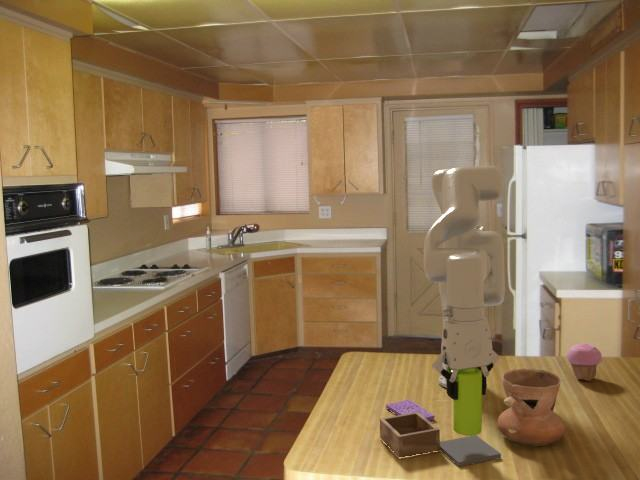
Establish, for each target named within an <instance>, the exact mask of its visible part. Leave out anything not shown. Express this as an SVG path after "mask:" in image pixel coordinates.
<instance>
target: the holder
mask: <svg viewBox="0 0 640 480" xmlns="http://www.w3.org/2000/svg"><path fill="white" fill-rule="evenodd" d="M440 436H441V433H440V428H438V427H437V426H436V425H435V424H434V423H432V421H429V420H427V419H426V418H425V417H424V416H422V415H421V414H420V413H419V412H415V413H409V414H403V415H397V416H396V415H393V416H387V417H386V416H385V417H381V418H379V438H381V439H382V440H383V441H384V442H385V443H386V444H387V446H389V447H390V449H391V450H392V451H394V453H395V454H396V455H397V456H398V457H405V456H412V455H416V454H423V453H428V452H433V451H439V450H440V442H441V437H440ZM387 446H386V447H387ZM390 449H389V450H390ZM391 450H390V451H391ZM392 451H391V452H392ZM394 453H393V454H394ZM395 454H394V455H395ZM396 455H395V456H396ZM397 456H396V457H397ZM398 457H397V458H398Z"/></svg>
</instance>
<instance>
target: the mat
mask: <svg viewBox="0 0 640 480" xmlns="http://www.w3.org/2000/svg"><path fill="white" fill-rule="evenodd" d="M440 450H441V451H442V452H443V453H444V454H443V453H442V452H441V451H440V452H441V453H442V454H443V455H445V454H446V455H447V456H448V457H449V458H450V459H451V460H452V461H451V460H450V459H449V458H448V457H447V456H446V455H445V456H446V457H447V458H448V459H449V460H450V461H451V462H453V461H454V462H455V463H456V464H457V465H458V466H460V467H463V466H462V465H465V466H468V465H467V464H470V465H473V464H472V463H475V464H478V463H477V462H480V463H482V462H481V461H485V462H488V460H489V461H493V460H498V459H501V458H502V453H501V452H500V451H498V450H496V449H495V448H494V447H493V446H491V445H490V444H489V443H487V442H486V441H485V440H483V439H482V438H481V437H479V436H478V435H473V436H463V437H458V438H453V439H448V440H442V441H440ZM454 462H453V463H454ZM455 463H454V464H455ZM456 464H455V465H456ZM457 465H456V466H457ZM458 466H457V467H458Z"/></svg>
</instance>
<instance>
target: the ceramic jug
mask: <svg viewBox="0 0 640 480" xmlns="http://www.w3.org/2000/svg"><path fill="white" fill-rule="evenodd" d="M501 380H502V385H503V389H504V393H505V396H506V398H505V399H504V401H503V404H505V406H509V408H506V410H504V411H502V412H501V413H500V415H499V416H498V418H497V428H498V429H499V432H500V433H501V434H502V436H503V437H505V438H506V439H507V440H510V441H512V442H514V443H516V444H520V445H525V446H530V447H531V446H532V447H534V446H536V447H537V446H539V447H541V446H547V445H552V444H554V443H556V442H558V441H560V440H561V439H562V438H563V437H564V435H565V433H566V430H567V427H566V424H565V421H564V419H562V417H561V416H560V415H558V414H557V413H556V412H555V411H554V410H555V406H556V401H557V396H558V394H559V392H560V388H561V378H560V376H558V375H557V374H555V373H553V372H551V371H548V370H544V369H536V368H519V369H511V370H508V371H506V372H504V373H503V374H502V376H501Z"/></svg>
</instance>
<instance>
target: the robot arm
mask: <svg viewBox="0 0 640 480" xmlns="http://www.w3.org/2000/svg"><path fill="white" fill-rule="evenodd" d="M504 185H505V184H504V178H503V173H502V172H501V170H500V169H499V167H497V166H496V165H481V166H480V165H479V166H477V165H476V166H474V165H473V166H458V167H457V166H456V167H453V168H443V169H439V170H437V171H435V172H434V173H433V174H432V177H431V187H432V192H433V195H434V199H435V200H436V202H437V203H436V204H437V205H438V207H439V210H440V212H441V216H440V217H439V218H438V219H437V220H436V221H435V222H434V223H433V224H432V225H431V226H430V228H429V230H428V231H427V232H426V235H425V238H424V240H423V241H424V242H423V272H424V275H425V277H426V279H427V280H429V281H430V282H432V283H435V284H436V283H438V291H439V297H440V303H441V315H442V333H441V334H442V335H441V345H440V346H441V347H440V351H441V352H440V353H439V355H438V356H437V358H436V359H435V360H434V362H433V363H432V364H431V366H432V368H433V369H435V371H436V372H438V373H439V374H440V375H439V376H438V384H439V385H440V386H442V387H444V388H446V394H447V396H448V397H449V398H451V399H452V400H453V401H454V400H457V399H458V383H457V382H456V381H455V379H456V376H457V373H458V370H463V369H470V368H478V369H480V370H481V371H482V396H486V394H487V391H486V390H487V377H489V375H490V372H491V370H492V369H493V367H494V365H495V364H496V363H497V362H498V361H499V360H500V355H499V354H498V353H497V352H496V351H494V350H493V343H492V339H493V338H492V335H491V334H492V333H491V327H490V323H489V319H488V318H487V317H485V312H484V311H485V310H484V308H485V307H491V306H492V307H495V306H499V305H501V304H502V303H503V302H504V299H505V296H506V295H505V294H506V293H505V292H506V283H505V282H506V281H505V280H506V278H505V274H506V273H505V272H506V271H505V250H504V249H505V247H504V242H503V238H502V236H501V234H500V233H498V232H497V231H494V230H476V229H475V228H476V227H477V225H478V224H479V221H480V219H481V216H480V215H481V213H480V205H479V204H480V202H482V201H483V202H484V201H485V202H487V201H499V200H500V199H501V198H502V196H503V193H504V189H505V188H504V187H505V186H504ZM441 244H442V245H443V246H442V247H443V248H438V247H440V245H441Z"/></svg>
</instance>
